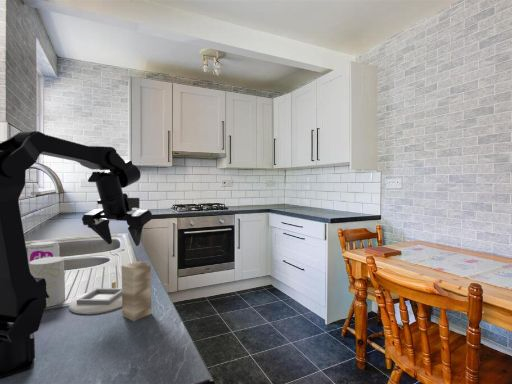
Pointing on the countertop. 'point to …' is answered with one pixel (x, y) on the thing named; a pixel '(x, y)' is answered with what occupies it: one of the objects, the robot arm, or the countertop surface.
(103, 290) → the locating plate
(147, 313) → the birch block
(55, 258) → the cup
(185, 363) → the countertop surface
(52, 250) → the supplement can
